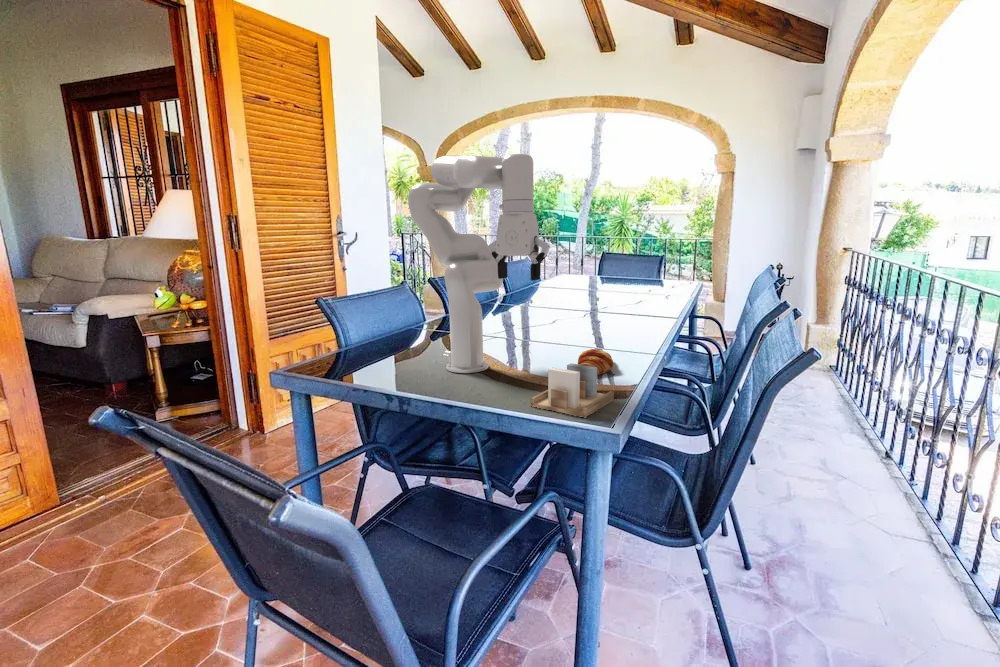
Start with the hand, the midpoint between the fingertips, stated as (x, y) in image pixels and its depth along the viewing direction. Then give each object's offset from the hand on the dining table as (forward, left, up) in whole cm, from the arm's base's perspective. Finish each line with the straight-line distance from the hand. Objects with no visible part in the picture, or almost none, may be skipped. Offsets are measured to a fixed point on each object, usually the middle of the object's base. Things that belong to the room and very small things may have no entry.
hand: (518, 279), depth 130 cm
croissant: (+9, +26, -29) cm, 40 cm away
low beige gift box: (+17, -7, -27) cm, 33 cm away
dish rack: (+17, -3, -28) cm, 33 cm away
